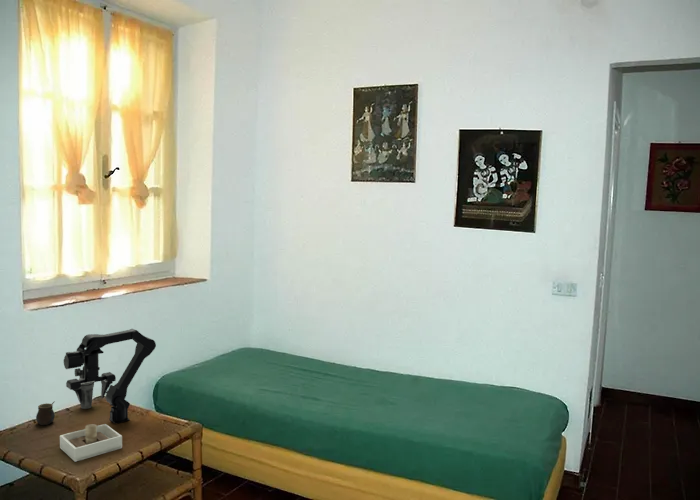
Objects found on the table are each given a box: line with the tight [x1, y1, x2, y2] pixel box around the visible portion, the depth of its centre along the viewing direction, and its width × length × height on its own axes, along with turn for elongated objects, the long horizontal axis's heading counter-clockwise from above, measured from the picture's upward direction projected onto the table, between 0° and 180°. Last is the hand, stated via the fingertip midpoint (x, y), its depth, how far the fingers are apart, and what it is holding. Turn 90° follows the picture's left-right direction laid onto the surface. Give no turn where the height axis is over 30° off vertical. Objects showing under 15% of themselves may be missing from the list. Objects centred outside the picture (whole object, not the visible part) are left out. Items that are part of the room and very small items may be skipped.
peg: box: [84, 423, 98, 444], centre depth 229 cm, size 4×4×8 cm
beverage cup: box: [78, 377, 95, 410], centre depth 271 cm, size 7×7×20 cm
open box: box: [59, 423, 123, 462], centre depth 229 cm, size 18×16×5 cm
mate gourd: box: [35, 401, 56, 426], centre depth 251 cm, size 7×8×10 cm
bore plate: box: [70, 432, 109, 448], centre depth 229 cm, size 12×12×2 cm
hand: (91, 400), depth 248 cm, fingers open, 9 cm apart
